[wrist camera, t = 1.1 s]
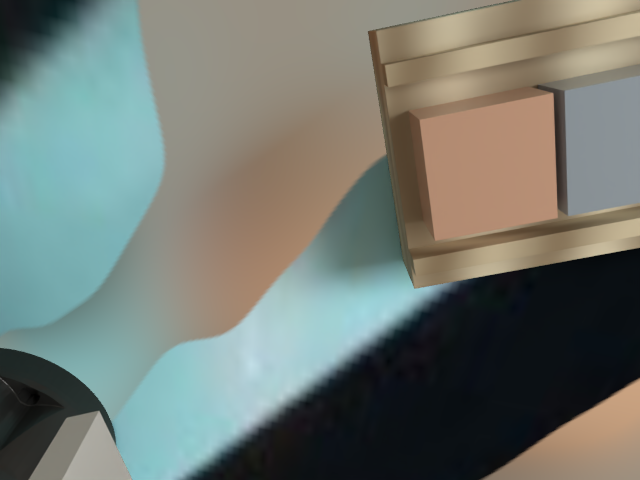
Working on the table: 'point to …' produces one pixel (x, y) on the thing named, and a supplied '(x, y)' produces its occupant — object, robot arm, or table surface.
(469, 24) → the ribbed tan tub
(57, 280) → the table surface
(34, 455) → the robot arm
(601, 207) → the slate tile
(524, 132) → the terracotta tile
